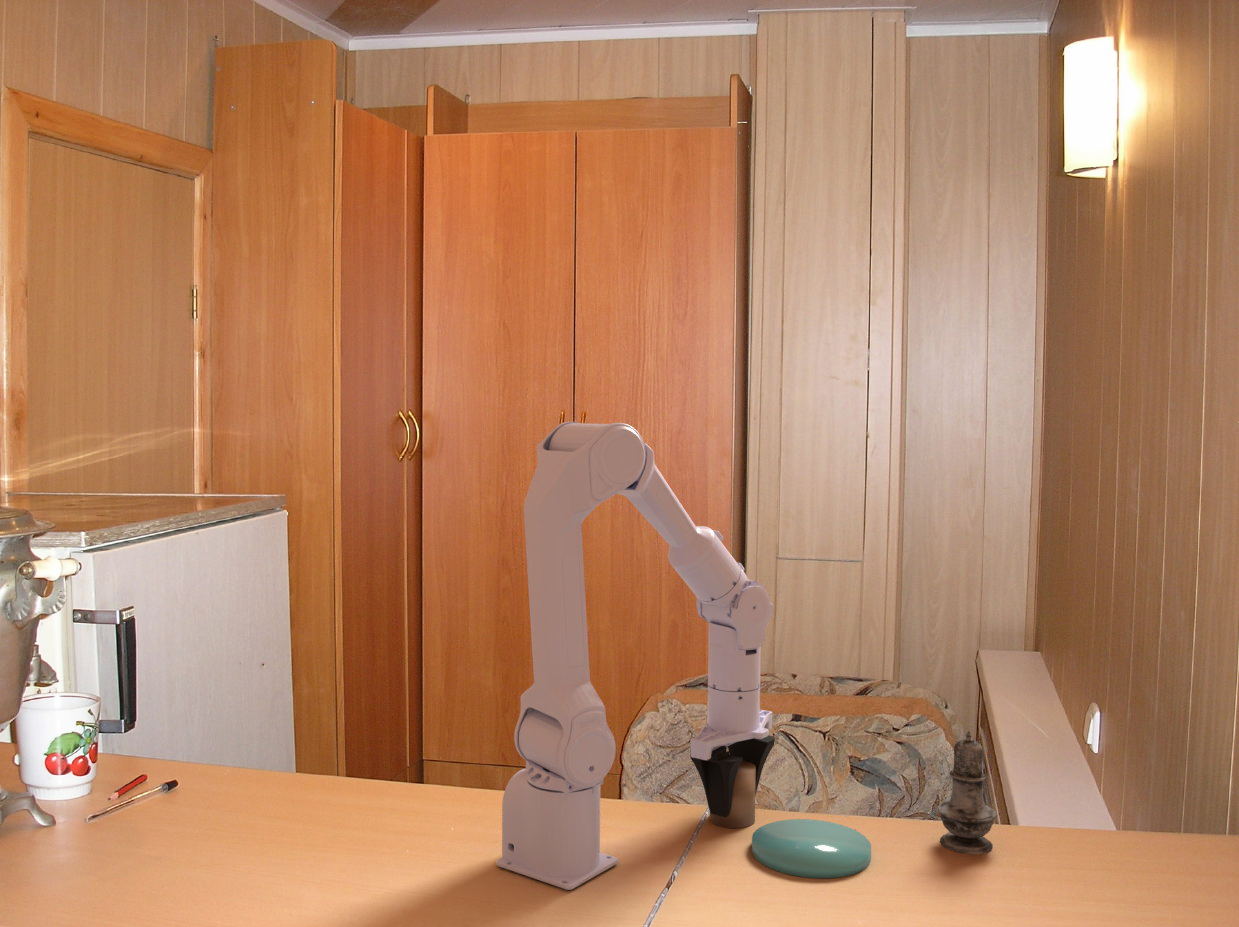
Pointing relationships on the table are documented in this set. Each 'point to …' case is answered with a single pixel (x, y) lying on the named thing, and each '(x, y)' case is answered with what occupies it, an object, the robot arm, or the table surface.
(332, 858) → the table surface
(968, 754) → the salt shaker
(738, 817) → the walnut cylinder
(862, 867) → the teal rounded disc
